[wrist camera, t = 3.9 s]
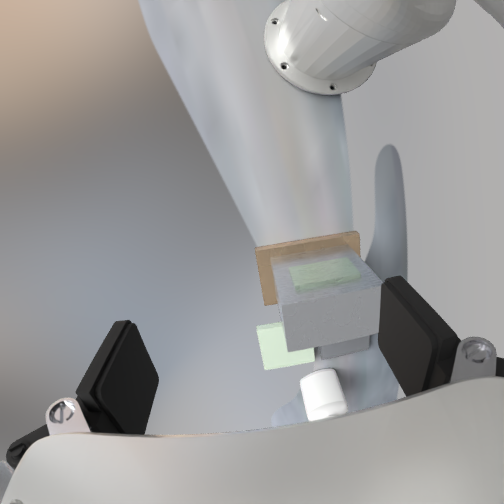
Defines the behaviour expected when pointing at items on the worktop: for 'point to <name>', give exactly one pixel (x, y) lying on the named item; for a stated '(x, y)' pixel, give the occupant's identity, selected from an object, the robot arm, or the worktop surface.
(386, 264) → the worktop surface
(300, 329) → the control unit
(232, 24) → the worktop surface
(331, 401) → the eye dropper bottle
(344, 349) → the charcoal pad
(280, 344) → the sage pad
